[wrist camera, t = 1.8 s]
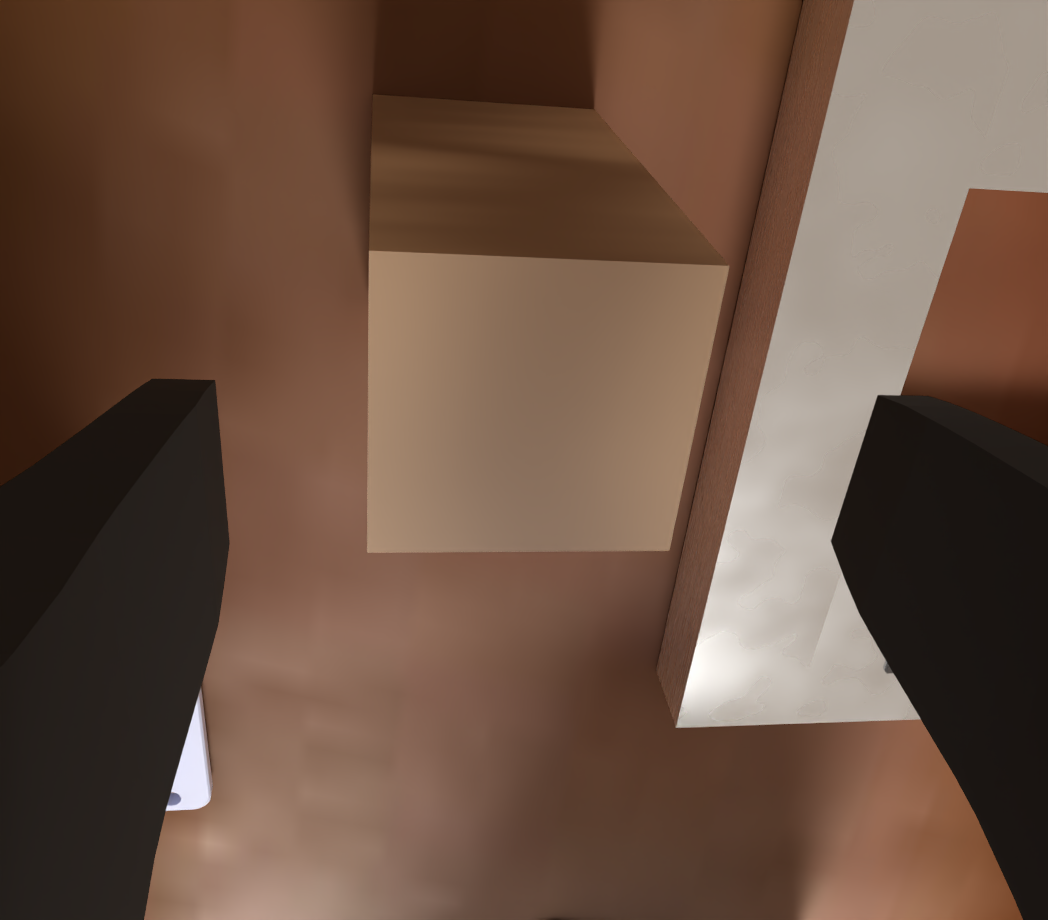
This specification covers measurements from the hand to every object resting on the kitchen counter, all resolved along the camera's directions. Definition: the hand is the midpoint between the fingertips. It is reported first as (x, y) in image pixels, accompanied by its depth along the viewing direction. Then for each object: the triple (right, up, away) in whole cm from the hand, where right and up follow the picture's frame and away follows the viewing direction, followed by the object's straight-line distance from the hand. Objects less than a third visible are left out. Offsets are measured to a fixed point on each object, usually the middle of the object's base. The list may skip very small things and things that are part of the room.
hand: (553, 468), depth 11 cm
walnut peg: (-1, +5, +8) cm, 9 cm away
